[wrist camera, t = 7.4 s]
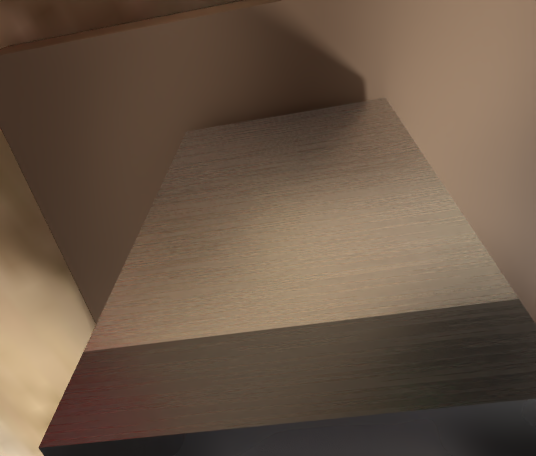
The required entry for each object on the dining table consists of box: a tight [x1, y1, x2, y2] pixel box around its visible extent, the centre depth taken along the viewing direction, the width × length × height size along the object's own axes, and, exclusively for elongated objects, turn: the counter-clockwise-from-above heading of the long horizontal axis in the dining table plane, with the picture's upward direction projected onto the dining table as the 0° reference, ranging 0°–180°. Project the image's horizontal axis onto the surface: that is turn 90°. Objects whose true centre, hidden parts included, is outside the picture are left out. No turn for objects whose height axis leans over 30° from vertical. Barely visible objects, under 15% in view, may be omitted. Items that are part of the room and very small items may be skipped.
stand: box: [0, 0, 536, 324], centre depth 13 cm, size 12×14×2 cm
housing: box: [39, 98, 536, 456], centre depth 9 cm, size 4×10×7 cm, turn 10°
